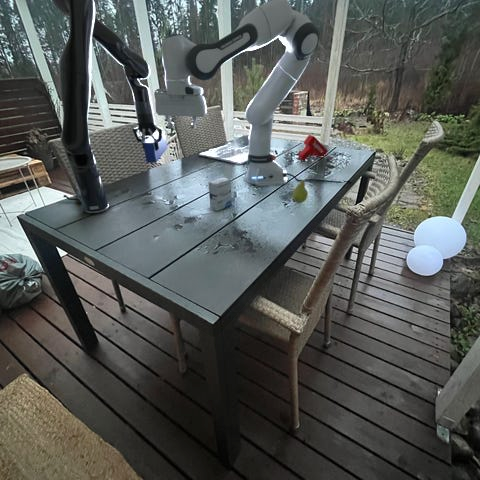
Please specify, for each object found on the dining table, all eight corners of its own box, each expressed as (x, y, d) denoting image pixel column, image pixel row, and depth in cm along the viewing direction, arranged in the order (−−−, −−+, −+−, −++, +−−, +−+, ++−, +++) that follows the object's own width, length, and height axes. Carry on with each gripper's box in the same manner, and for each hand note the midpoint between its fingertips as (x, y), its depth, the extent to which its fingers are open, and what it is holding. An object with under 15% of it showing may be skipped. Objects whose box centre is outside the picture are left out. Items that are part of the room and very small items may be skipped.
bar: (159, 148, 154) (156, 130, 149) (167, 147, 154) (164, 130, 149) (146, 162, 132) (142, 143, 127) (156, 162, 132) (153, 142, 127)
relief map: (240, 164, 168) (240, 156, 165) (199, 155, 186) (198, 147, 183) (263, 154, 186) (264, 146, 184) (224, 147, 204) (224, 140, 201)
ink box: (224, 201, 122) (223, 176, 116) (231, 205, 119) (231, 179, 113) (209, 207, 117) (207, 181, 111) (217, 211, 114) (215, 184, 108)
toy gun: (299, 156, 169) (313, 135, 166) (294, 155, 172) (308, 134, 169) (314, 170, 180) (328, 150, 177) (310, 169, 183) (323, 149, 180)
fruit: (288, 200, 123) (290, 174, 116) (302, 197, 125) (305, 172, 119) (296, 206, 118) (299, 179, 111) (310, 203, 120) (314, 177, 114)
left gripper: (126, 113, 120) (134, 152, 129) (158, 113, 120) (164, 152, 129) (131, 111, 126) (139, 148, 135) (162, 110, 126) (167, 148, 135)
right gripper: (149, 89, 101) (155, 128, 108) (200, 89, 96) (203, 131, 103) (157, 87, 106) (163, 125, 113) (206, 88, 101) (209, 127, 109)
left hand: (151, 150), depth 132 cm, fingers closed on bar, 4 cm apart
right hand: (182, 128), depth 108 cm, fingers open, 8 cm apart
